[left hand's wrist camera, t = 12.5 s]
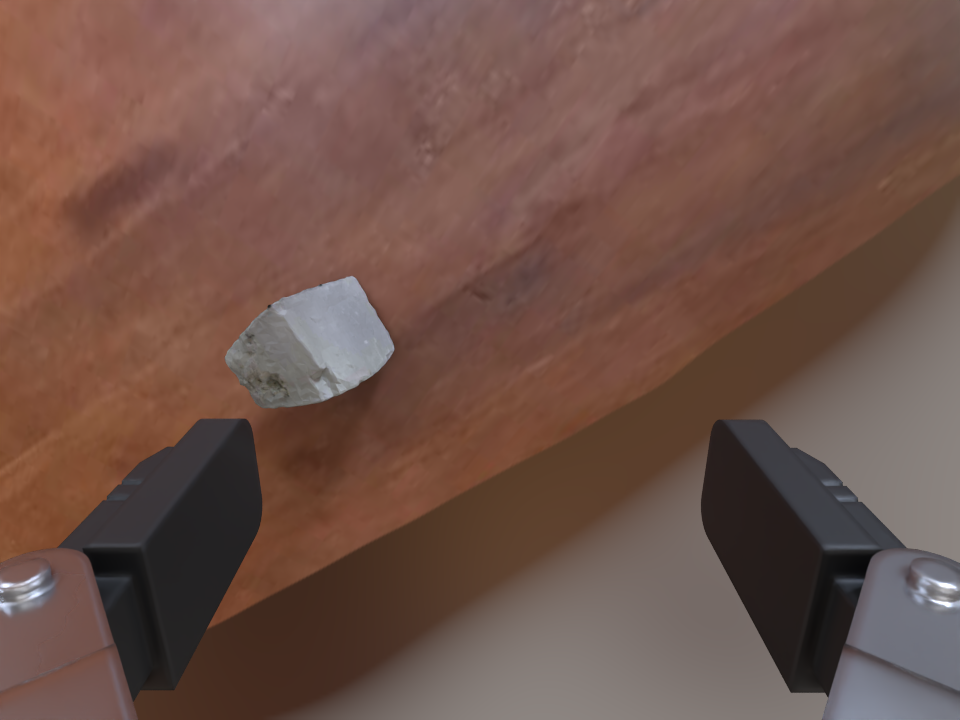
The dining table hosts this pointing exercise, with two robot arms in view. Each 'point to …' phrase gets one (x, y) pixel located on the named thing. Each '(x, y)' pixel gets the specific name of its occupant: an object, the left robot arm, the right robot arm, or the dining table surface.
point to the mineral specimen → (311, 346)
